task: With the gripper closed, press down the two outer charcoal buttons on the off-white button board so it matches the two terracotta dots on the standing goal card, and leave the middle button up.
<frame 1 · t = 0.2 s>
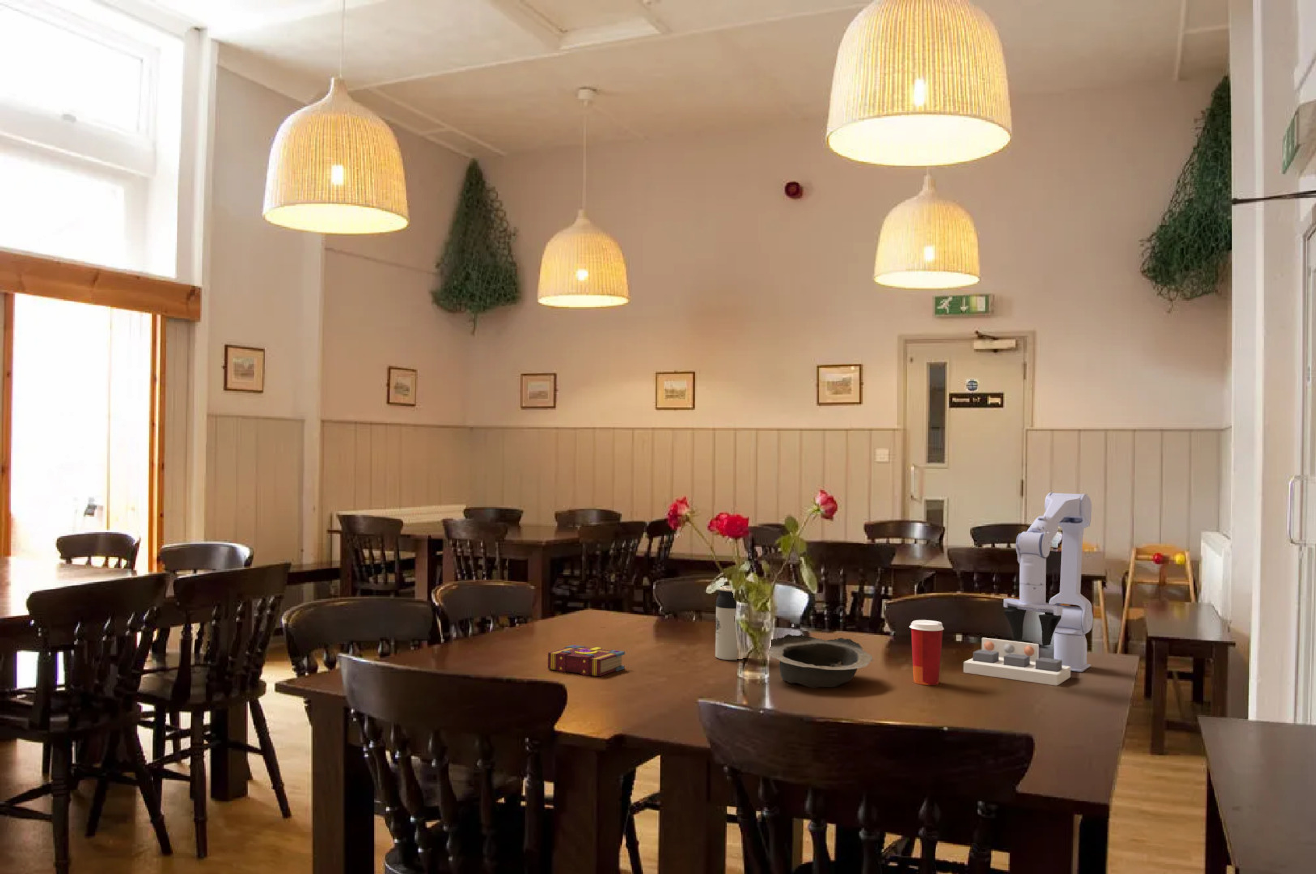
hand: (1032, 642, 238), 10 cm above the table, fingers open, 7 cm apart
goal card: (1009, 664, 260), on the table
paper cup: (925, 683, 238), on the table
stone bowl: (818, 682, 237), on the table
button cup side: (1048, 666, 244), point 3 cm above the table, slide at 0.0 cm
button board: (1016, 674, 248), on the table
decorative book: (583, 671, 246), on the table
button middle: (1016, 662, 248), point 3 cm above the table, slide at 0.0 cm
button mug side: (985, 658, 253), point 3 cm above the table, slide at 0.0 cm
travel mug: (730, 658, 263), on the table
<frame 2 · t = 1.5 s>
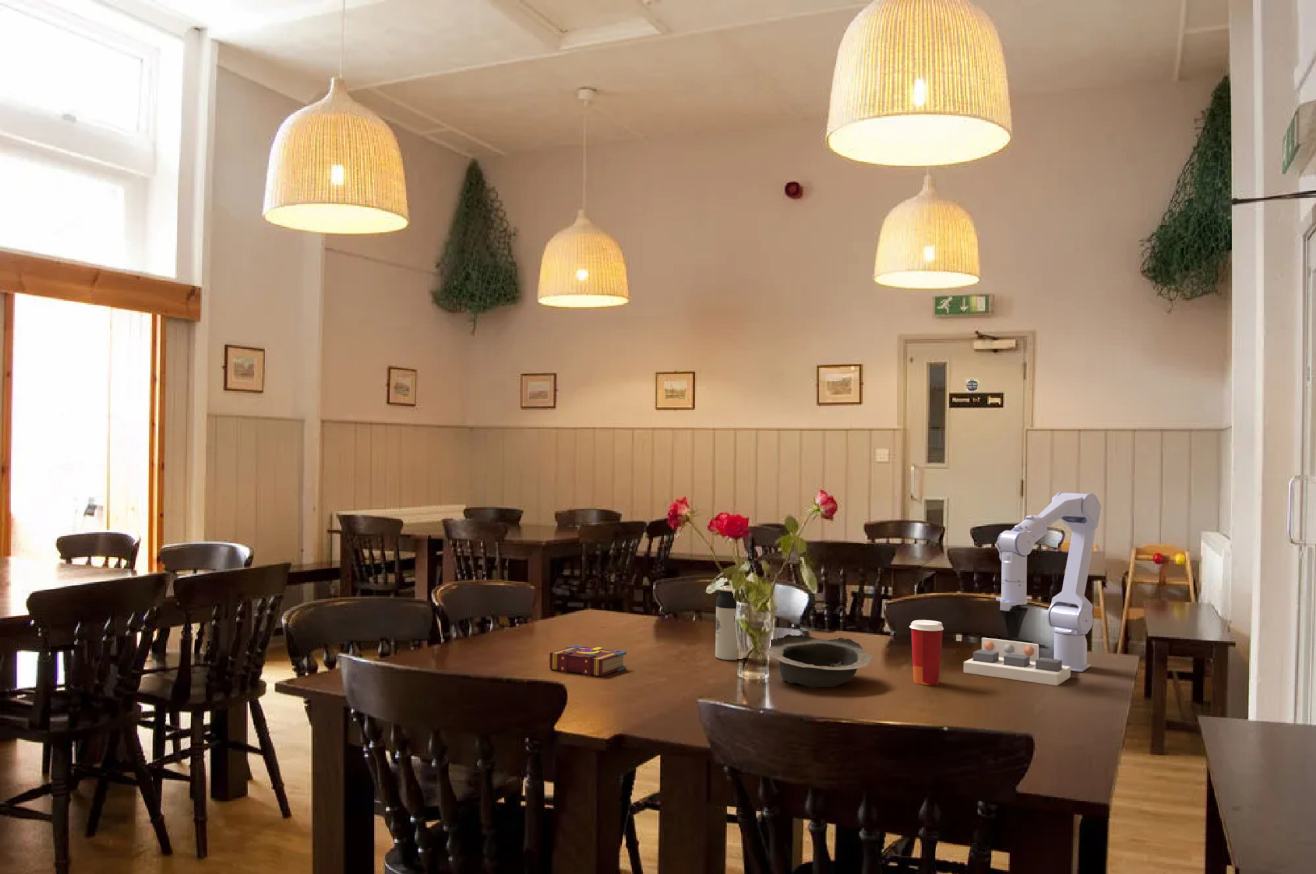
hand: (1013, 637, 246), 9 cm above the table, fingers closed
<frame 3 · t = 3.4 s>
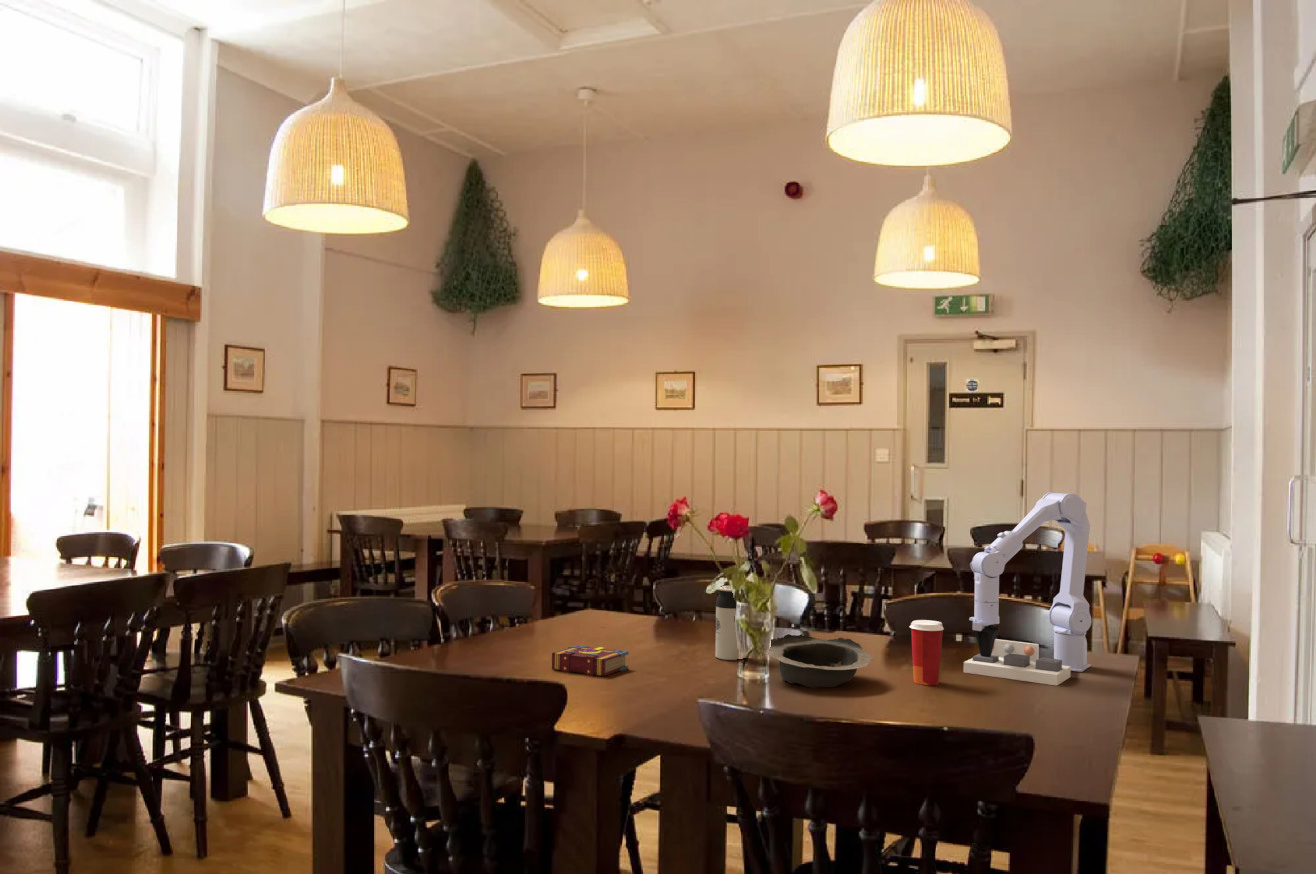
hand: (985, 656, 253), 3 cm above the table, fingers closed, pressing on button mug side
button mug side: (985, 662, 253), point 2 cm above the table, slide at 1.0 cm, touching gripper
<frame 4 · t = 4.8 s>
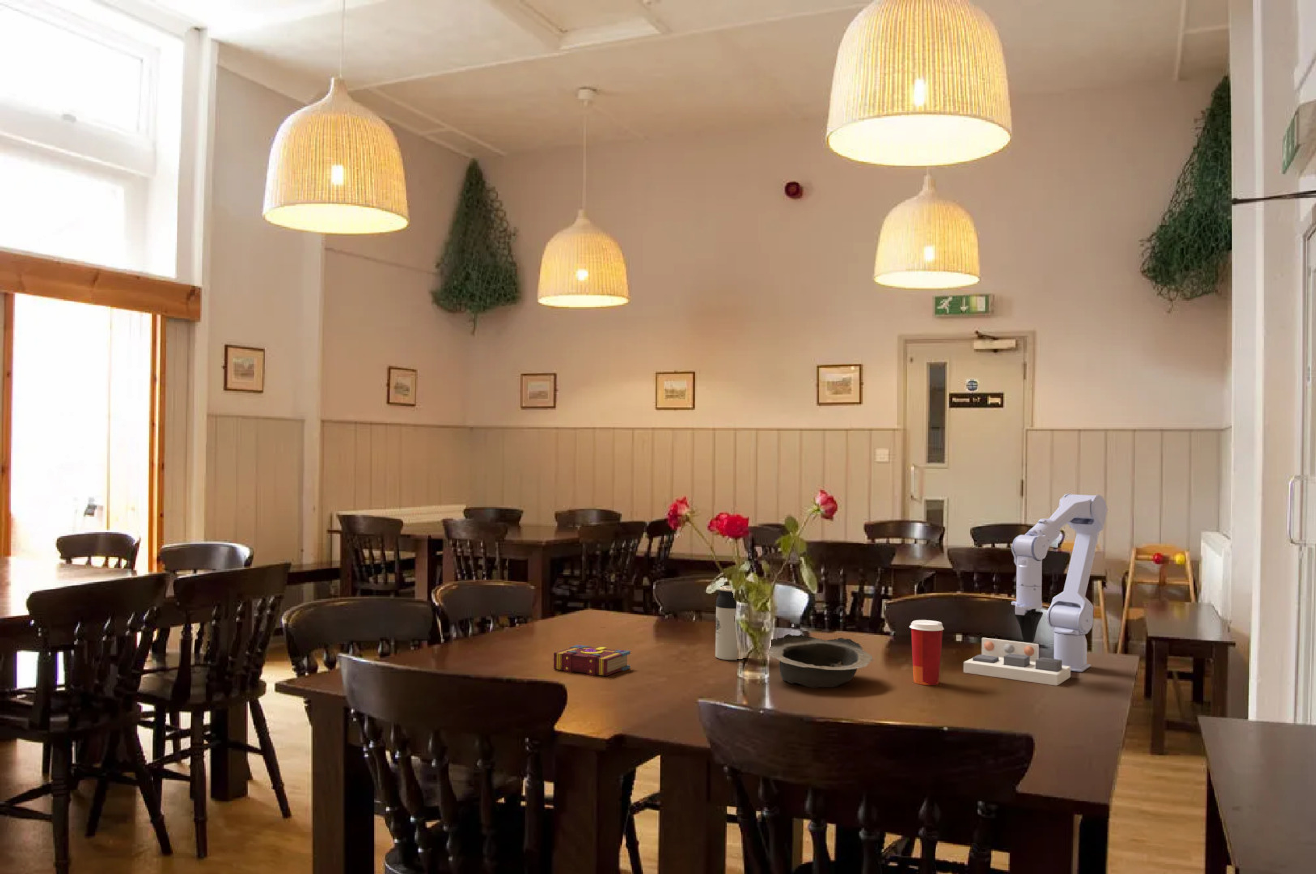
hand: (1028, 641, 247), 8 cm above the table, fingers closed
button mug side: (985, 663, 253), point 2 cm above the table, slide at 1.2 cm
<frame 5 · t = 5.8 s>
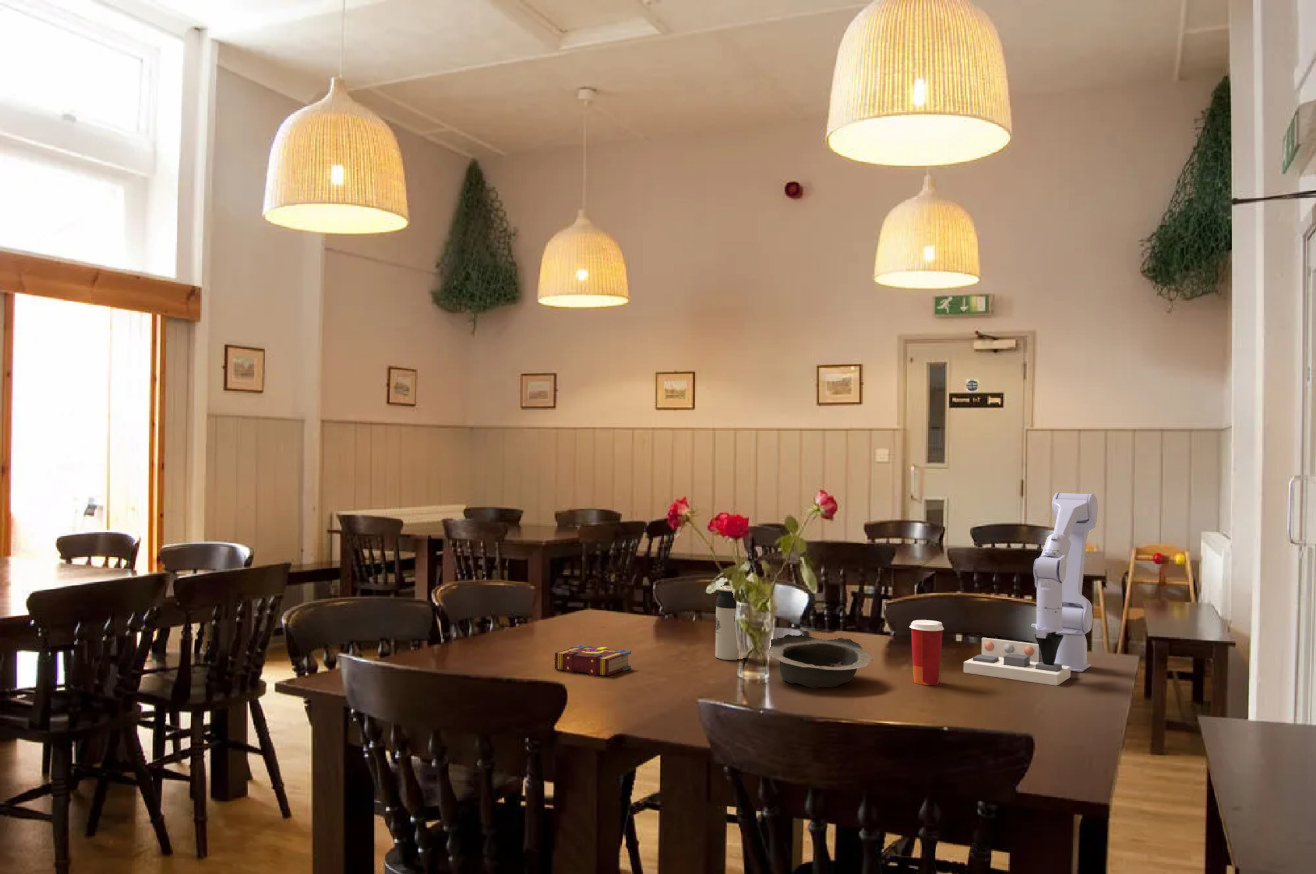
hand: (1048, 664, 244), 3 cm above the table, fingers closed, pressing on button cup side
button cup side: (1048, 670, 244), point 2 cm above the table, slide at 1.0 cm, touching gripper
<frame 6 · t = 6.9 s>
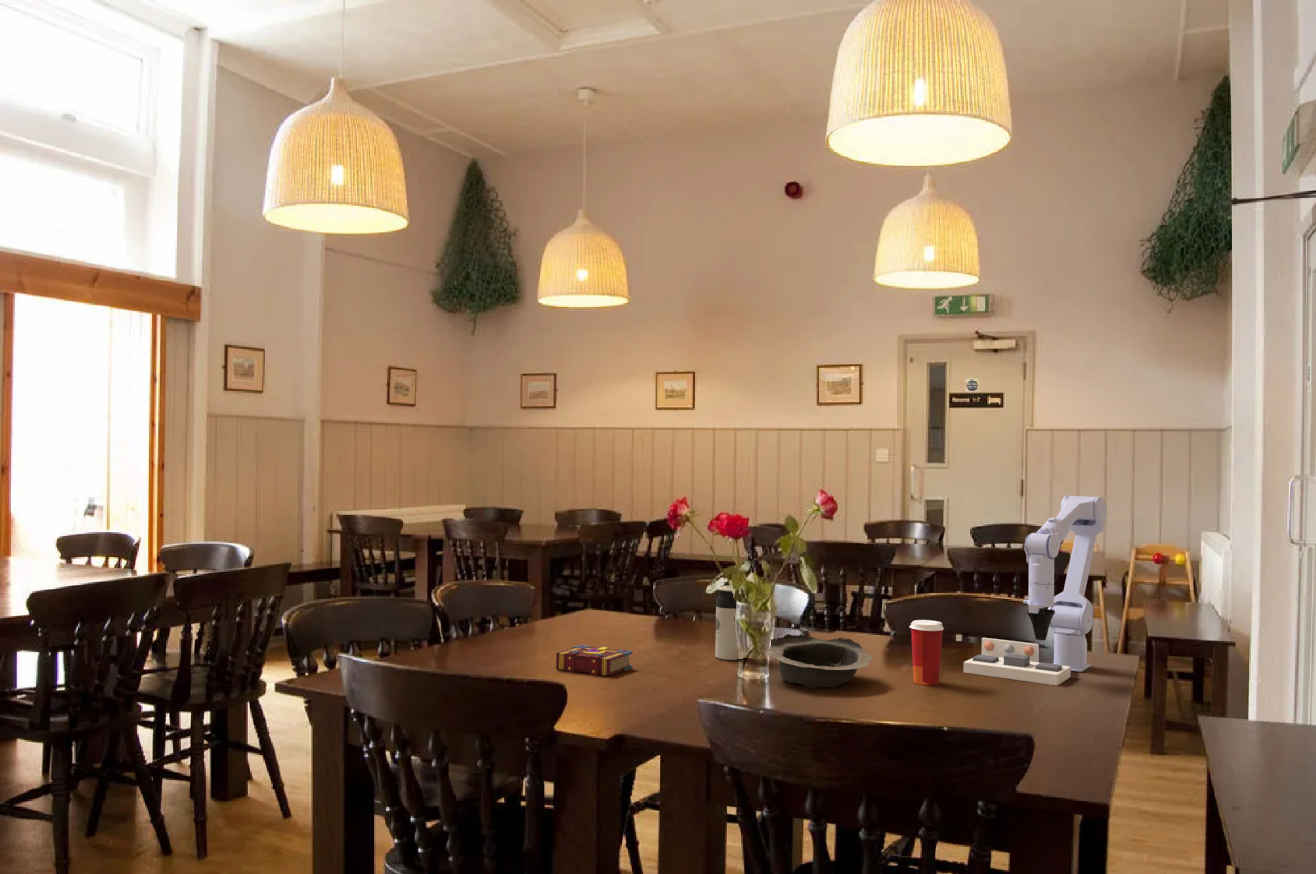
hand: (1040, 639, 246), 9 cm above the table, fingers closed
button cup side: (1048, 671, 244), point 2 cm above the table, slide at 1.2 cm
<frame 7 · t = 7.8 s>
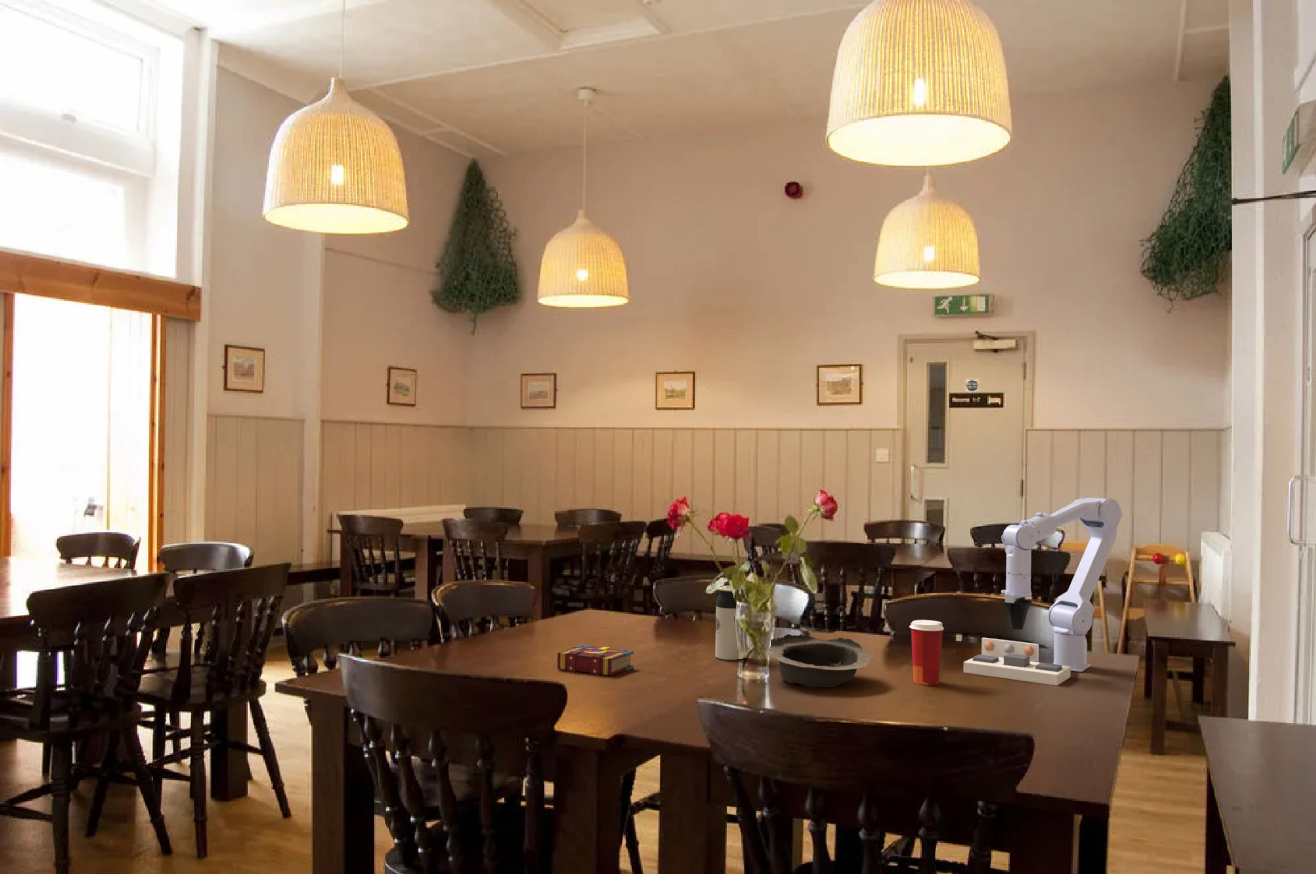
hand: (1017, 629, 252), 10 cm above the table, fingers closed
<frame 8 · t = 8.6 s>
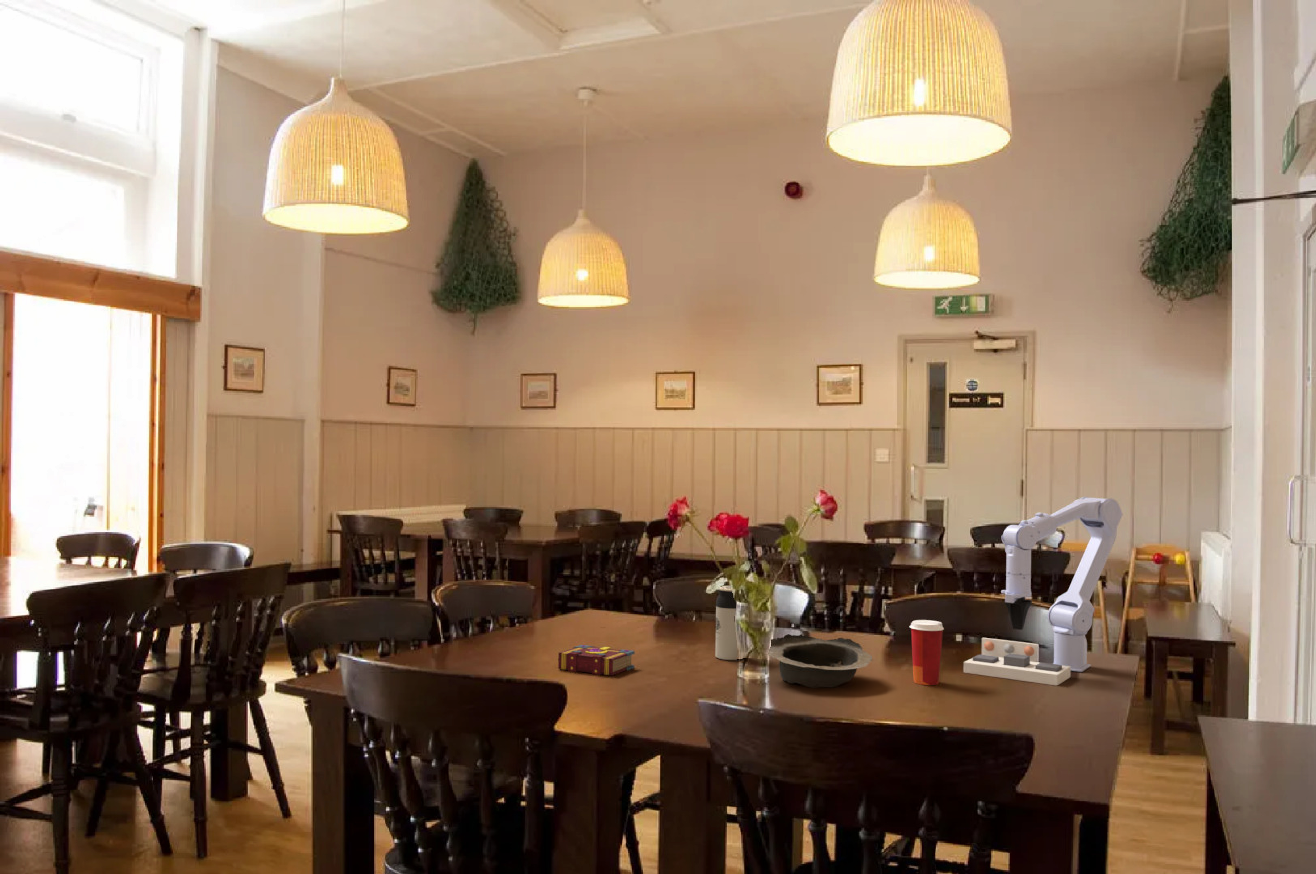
hand: (1017, 629, 252), 10 cm above the table, fingers closed
at the end: button mug side slide at 1.2 cm; button cup side slide at 1.2 cm; button middle slide at 0.0 cm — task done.
